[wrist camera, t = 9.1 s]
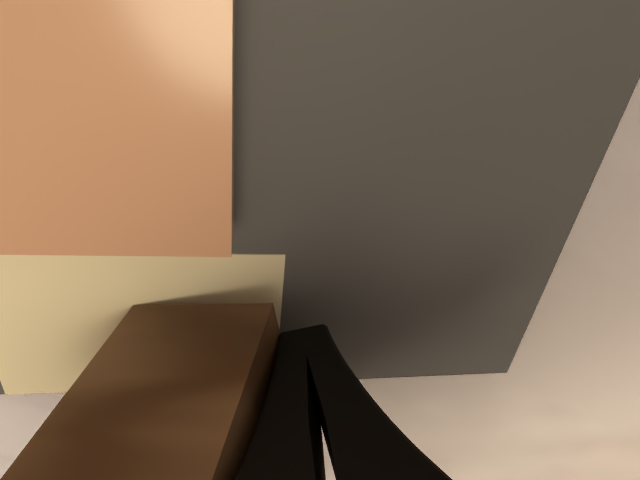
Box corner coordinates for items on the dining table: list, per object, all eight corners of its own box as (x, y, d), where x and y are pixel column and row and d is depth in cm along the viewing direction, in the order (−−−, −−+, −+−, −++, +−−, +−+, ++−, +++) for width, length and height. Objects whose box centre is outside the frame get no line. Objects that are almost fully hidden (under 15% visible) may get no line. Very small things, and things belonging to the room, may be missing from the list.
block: (272, 303, 11) (201, 509, 7) (297, 403, 13) (254, 608, 9) (133, 304, 12) (-10, 492, 7) (177, 399, 14) (85, 588, 10)
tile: (233, -165, 6) (-300, -264, 5) (231, 257, 9) (-82, 253, 8) (235, -133, 7) (-171, -204, 6) (233, 220, 11) (-32, 213, 10)
